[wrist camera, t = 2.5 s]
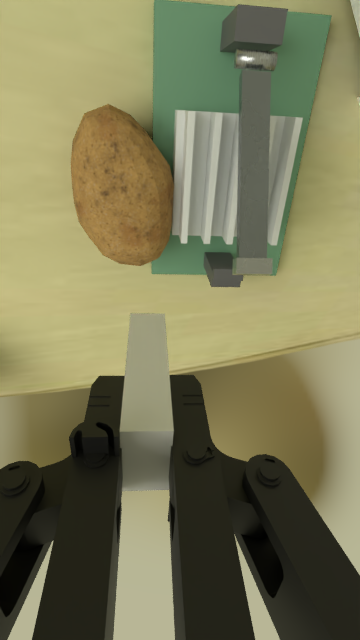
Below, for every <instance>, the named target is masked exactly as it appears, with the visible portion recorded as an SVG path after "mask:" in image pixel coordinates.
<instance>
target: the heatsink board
mask: <svg viewBox="0 0 360 640" xmlns="http://www.w3.org/2000/svg"><path fill="white" fill-rule="evenodd" d="M331 17H332V15H322V14H311V13H300V12H289V11H288V9H282V8H272V7H261V6H250V5H239V4H238V5H237V6H236V7H234V6H223V5H212V4H201V3H191V2H180V1H169V0H154V51H153V142H154V144H155V145H156V147H157V148H158V150H159V151H160V152H161V154H162V155H163V157H164V158H165V160H166V161H167V163H168V164H169V166H170V170H171V174H172V178H173V182H174V193H173V211H172V225H171V231H170V238H169V241H168V243H167V245H166V247H165V249H164V250H163V252H162V254H161V256H160V257H159V258H158V259H156V260H153V261H152V274H195V275H207V277H208V279H209V282H210V285H211V287H240V283H241V281H243V275H232V269H233V259H235V258H236V252H237V190H238V128H239V76H240V74H241V71H242V70H244V69H234V56H235V52H236V49H248V50H260V51H273V52H277V54H278V59H277V64H276V68H275V70H274V71H273V72H272V71H267V72H271V100H270V146H269V192H268V237H267V258H273V267H272V274H271V275H275V276H276V273H277V268H278V263H279V259H280V254H281V249H282V245H283V240H284V235H285V231H286V226H287V221H288V217H289V212H290V207H291V203H292V198H293V193H294V189H295V184H296V180H297V175H298V170H299V166H300V161H301V156H302V152H303V147H304V142H305V138H306V133H307V128H308V124H309V119H310V114H311V110H312V105H313V100H314V96H315V91H316V86H317V82H318V77H319V73H320V68H321V63H322V59H323V54H324V49H325V45H326V40H327V35H328V31H329V26H330V21H331ZM253 71H258V70H253Z"/></svg>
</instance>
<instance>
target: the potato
mask: <svg viewBox="0 0 360 640" xmlns="http://www.w3.org/2000/svg"><path fill="white" fill-rule="evenodd" d="M71 173H72V188H73V196H74V204H75V208H76V212H77V216H78V220H79V222H80V224H81V226H82V227H83V229H84V230H85V232H86V233H87V235H88V236H89V238H90V239H91V240H92V241H93V242H94V244H95V245H96V246H97V248H98V249H99V250H100V252H101V253H102V254H103V255H104V256H106V257H108V258H110V259H112V260H114V261H116V262H118V263H120V264H128V265H137V266H141V265H144V264H146V263H149V262H151V261H153V260H156V259H158V258H159V257H160V256H161V254H162V252H163V250H164V249H165V247H166V245H167V243H168V241H169V238H170V231H171V225H172V211H173V193H174V182H173V178H172V174H171V170H170V166H169V164H168V163H167V161H166V160H165V158H164V157H163V155H162V154H161V152H160V151H159V150H158V148H157V147H156V145H155V144H154V142H153V141H152V139H151V138H150V137H149V135H148V134H147V132H146V131H145V130H144V129H143V128H142V127H141V126H140V125H139V124H138V123H137V122H136V121H135V119H134V118H133V117H132V116H131V115H129V114H127V113H125V112H123V111H121V110H119V109H117V108H115V107H113V106H111V105H109V104H107V105H105V106H102V107H100V108H97V109H94V110H92V111H89V112H87V113H84V116H83V118H82V120H81V123H80V125H79V127H78V130H77V132H76V134H75V137H74V139H73V145H72V157H71Z"/></svg>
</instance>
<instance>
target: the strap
mask: <svg viewBox="0 0 360 640" xmlns="http://www.w3.org/2000/svg"><path fill="white" fill-rule="evenodd" d="M277 59H278V54H277V52H273V51H260V50H248V49H236V52H235V56H234V69H244V70H242V71H241V74H240V76H239V128H238V190H237V252H236V258H235V259H233V269H232V275H271V274H272V267H273V258H267V237H268V192H269V146H270V100H271V72H267V71H272V72H273V71H274V70H275V68H276V64H277ZM253 70H258V71H253Z"/></svg>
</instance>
